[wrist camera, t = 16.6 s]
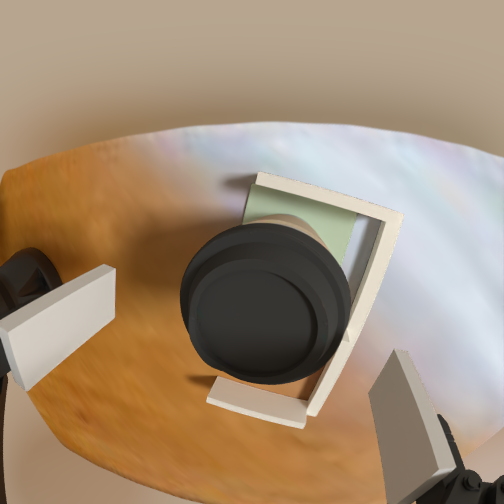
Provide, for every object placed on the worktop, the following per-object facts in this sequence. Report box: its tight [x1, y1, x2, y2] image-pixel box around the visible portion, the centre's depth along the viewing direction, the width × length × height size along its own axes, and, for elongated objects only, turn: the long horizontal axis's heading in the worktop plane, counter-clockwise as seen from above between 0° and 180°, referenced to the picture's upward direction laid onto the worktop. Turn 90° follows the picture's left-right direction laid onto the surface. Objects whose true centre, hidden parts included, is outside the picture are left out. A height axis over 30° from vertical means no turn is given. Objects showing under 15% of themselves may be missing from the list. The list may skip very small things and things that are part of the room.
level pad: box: [242, 183, 357, 267], centre depth 27 cm, size 10×10×1 cm
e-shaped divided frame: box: [206, 172, 404, 429], centre depth 26 cm, size 13×25×4 cm, turn 167°
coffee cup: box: [180, 214, 351, 385], centre depth 19 cm, size 9×9×15 cm
